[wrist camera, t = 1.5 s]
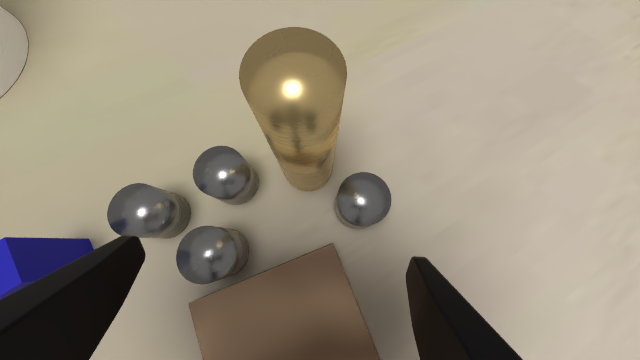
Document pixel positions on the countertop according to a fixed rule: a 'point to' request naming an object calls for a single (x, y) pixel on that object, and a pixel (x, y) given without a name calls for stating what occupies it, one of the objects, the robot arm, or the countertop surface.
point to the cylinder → (11, 50)
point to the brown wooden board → (285, 315)
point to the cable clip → (35, 259)
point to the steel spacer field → (234, 188)
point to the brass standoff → (297, 100)
